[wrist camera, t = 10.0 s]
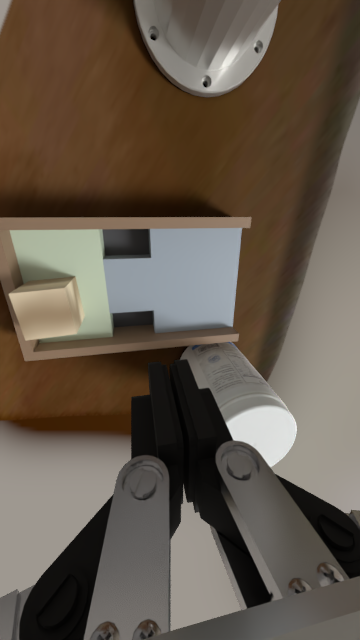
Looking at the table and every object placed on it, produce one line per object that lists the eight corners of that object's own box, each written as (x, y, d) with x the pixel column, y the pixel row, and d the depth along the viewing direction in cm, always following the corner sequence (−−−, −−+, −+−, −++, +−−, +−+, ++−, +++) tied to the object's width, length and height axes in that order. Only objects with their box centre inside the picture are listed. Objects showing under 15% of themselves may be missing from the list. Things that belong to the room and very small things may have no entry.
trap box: (9, 217, 24) (-19, 217, 20) (232, 217, 28) (251, 217, 24) (41, 339, 30) (24, 361, 25) (223, 324, 34) (238, 340, 29)
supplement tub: (214, 395, 39) (257, 488, 26) (164, 374, 35) (184, 469, 22) (250, 348, 36) (318, 424, 23) (200, 321, 33) (247, 392, 20)
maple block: (28, 280, 24) (8, 293, 20) (75, 276, 25) (64, 288, 21) (41, 321, 26) (25, 340, 22) (84, 316, 27) (76, 333, 23)
